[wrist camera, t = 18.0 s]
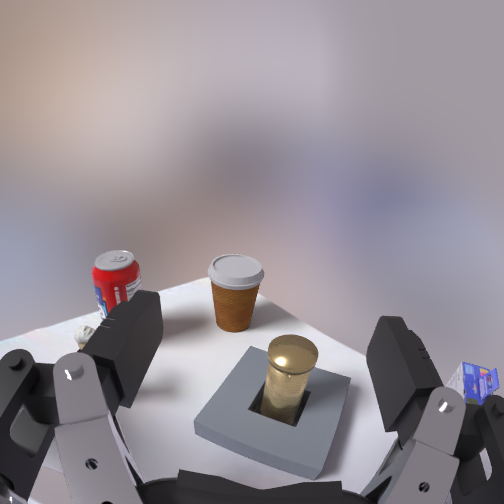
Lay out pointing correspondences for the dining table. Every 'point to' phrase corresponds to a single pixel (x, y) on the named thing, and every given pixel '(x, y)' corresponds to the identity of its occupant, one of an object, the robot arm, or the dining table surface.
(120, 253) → the soda can
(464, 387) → the ink cartridge box
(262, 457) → the jig plate
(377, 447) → the dining table surface
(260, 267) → the disposable coffee cup
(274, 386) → the brass sleeve
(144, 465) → the dining table surface
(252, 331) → the dining table surface
